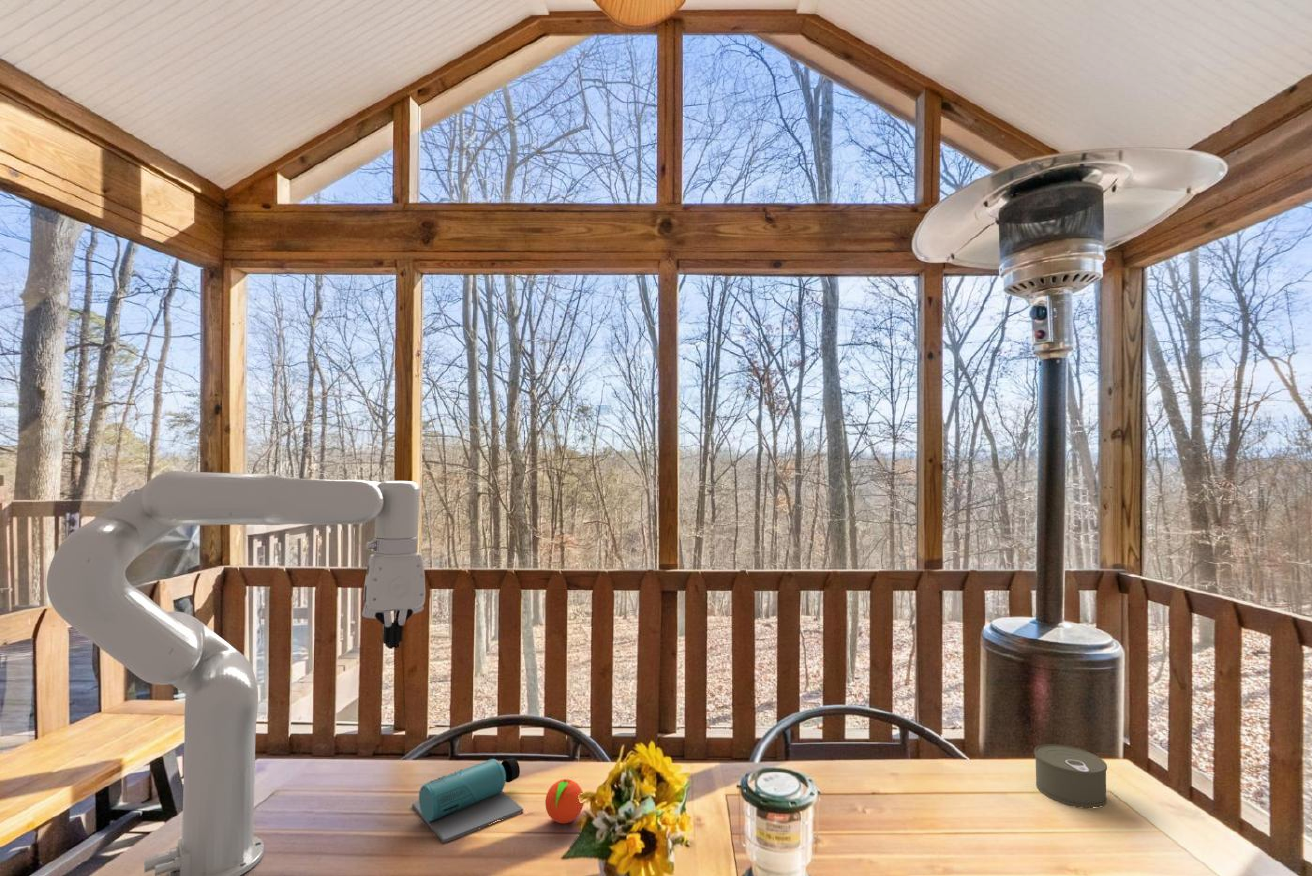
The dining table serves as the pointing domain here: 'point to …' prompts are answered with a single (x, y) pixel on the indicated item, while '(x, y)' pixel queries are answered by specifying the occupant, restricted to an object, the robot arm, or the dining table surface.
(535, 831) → the dining table surface
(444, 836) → the mat
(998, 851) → the dining table surface
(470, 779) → the beverage bottle
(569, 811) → the clementine
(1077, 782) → the can
